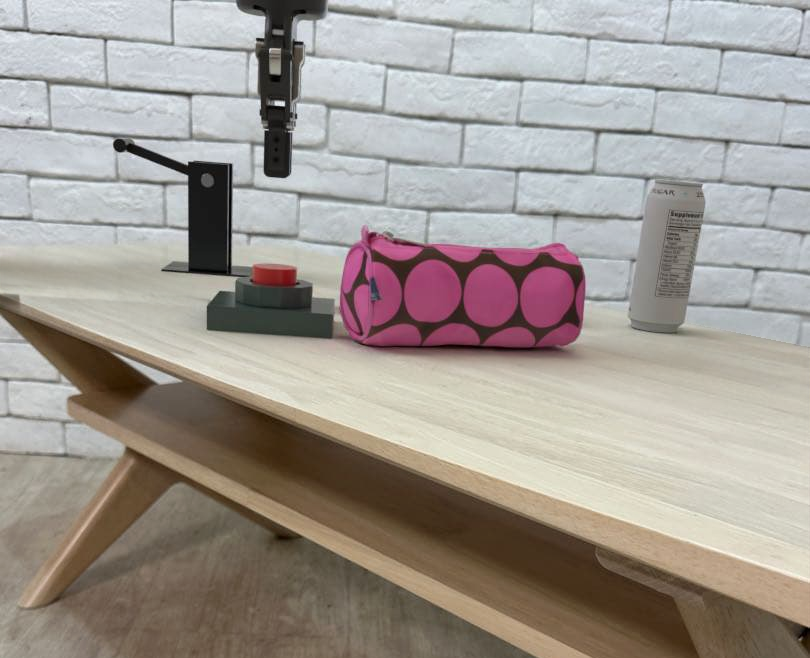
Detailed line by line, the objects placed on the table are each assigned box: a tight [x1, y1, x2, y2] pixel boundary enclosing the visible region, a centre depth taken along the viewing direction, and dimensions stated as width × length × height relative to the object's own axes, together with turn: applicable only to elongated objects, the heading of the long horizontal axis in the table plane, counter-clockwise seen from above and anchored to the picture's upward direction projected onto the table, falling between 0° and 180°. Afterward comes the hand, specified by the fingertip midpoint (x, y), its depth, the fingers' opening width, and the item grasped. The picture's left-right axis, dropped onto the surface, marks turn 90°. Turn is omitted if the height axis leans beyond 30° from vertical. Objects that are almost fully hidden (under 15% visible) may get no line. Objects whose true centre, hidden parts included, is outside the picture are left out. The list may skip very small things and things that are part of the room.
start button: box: [252, 263, 298, 286], centre depth 90 cm, size 4×4×2 cm
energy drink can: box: [627, 179, 707, 334], centre depth 105 cm, size 6×6×15 cm
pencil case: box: [339, 224, 587, 348], centre depth 88 cm, size 21×10×10 cm, turn 111°
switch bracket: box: [161, 160, 253, 278], centre depth 115 cm, size 10×8×13 cm
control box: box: [206, 276, 336, 340], centre depth 91 cm, size 11×9×4 cm
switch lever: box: [112, 137, 188, 177], centre depth 112 cm, size 12×5×2 cm, turn 93°
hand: (277, 176), depth 87 cm, fingers closed
